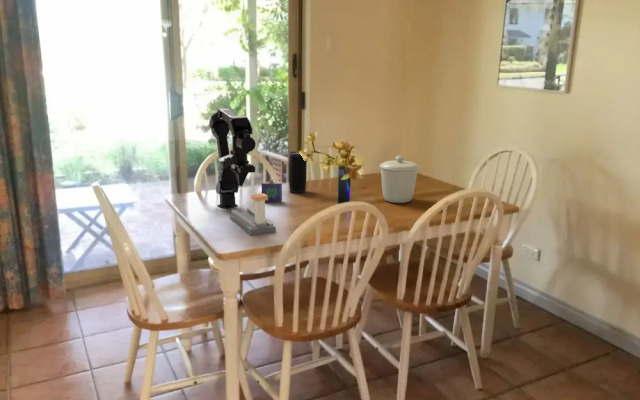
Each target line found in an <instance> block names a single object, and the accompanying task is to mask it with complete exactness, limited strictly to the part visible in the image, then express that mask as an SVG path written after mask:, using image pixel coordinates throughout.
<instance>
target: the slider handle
mask: <svg viewBox="0 0 640 400" xmlns="http://www.w3.org/2000/svg"><path fill="white" fill-rule="evenodd" d="M250 195H251V198H250V199H251V200H252V201H253V203H254V204H253V205H254V210H255V221H253V223H254V224H255V225H257V228H262V227H267V223H266V222H265V218H266V203H265V200H268V196H267V195H266V194H264V193H263V194H262V193H253V194H250Z"/></svg>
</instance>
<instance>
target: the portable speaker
mask: <svg viewBox="0 0 640 400" xmlns="http://www.w3.org/2000/svg"><path fill="white" fill-rule="evenodd" d="M299 152H300V151H295V150H294V151H290V152H289V159H288V186H289V193H291V194H294V193H299V194H304V193H306V190H307V189H306V188H307V175H308V173H307V171H308V170H307V167H308V164H307V160H306V161H304V160H303V158H302V156H301V155H300V154H299Z"/></svg>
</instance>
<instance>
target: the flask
mask: <svg viewBox="0 0 640 400" xmlns="http://www.w3.org/2000/svg"><path fill="white" fill-rule="evenodd" d="M274 180H275V179H274V178H271V179H270V181H264V182H261V194H263V193H264V194H266V195H267V196H268V200H265V204H270V203H276V204H277V203H283V184H282V182H280V181H278V182H274Z"/></svg>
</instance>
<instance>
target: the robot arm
mask: <svg viewBox="0 0 640 400" xmlns="http://www.w3.org/2000/svg"><path fill="white" fill-rule="evenodd" d="M208 126H209V129H210V130H211V134H212V135H213V136H214V137H215V138H216V145H217V153H218V158H217V161H218V164H219V167H220V172H219V175H218V177H217V179H218V180H217V182H216V186H215V192H216V194H218V195H219V204H217V207H220V208H223V209H231V208H235V207H237V206H239V205H238V204H236V196H235V195H236V193H237V194H238V193H239V187H243V185H244V183H245V180H246V179H247V177H248V176H249V175H248V174H249V173H250V174H251V173H256V166H255V165H253V164H252V163H250V161H249V160H248V154H249V153H251V152H252V151H253V150H255V148H256V144H257V143H256V140H255V139H254V138H253V137H251V135H253V127H252V124H251V121H250V120H249V118H248V117H247V116H246V115H238V114H236V112H233V111H232V110H231V108H226V107H225V108H219V109H217V111H216V112H215V113H214V114H212V115H211V117H210V119H209V125H208ZM229 133H231V142H232V143H231V145H232V149H231V150H230V149H229V141H228V135H229Z"/></svg>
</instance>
